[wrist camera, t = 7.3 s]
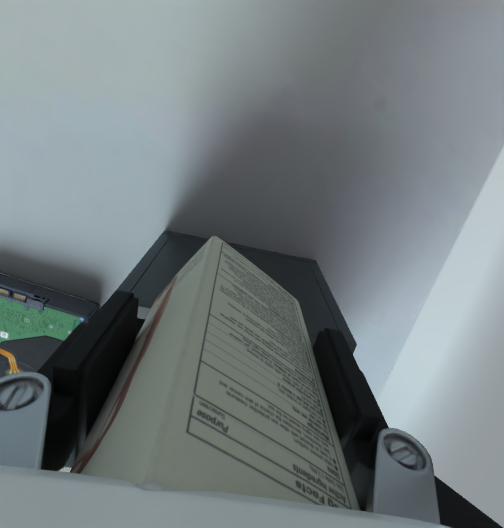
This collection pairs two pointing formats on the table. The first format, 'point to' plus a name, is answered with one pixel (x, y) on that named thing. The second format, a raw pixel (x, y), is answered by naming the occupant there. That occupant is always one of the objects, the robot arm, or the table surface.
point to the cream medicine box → (221, 394)
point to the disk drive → (35, 323)
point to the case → (271, 263)
